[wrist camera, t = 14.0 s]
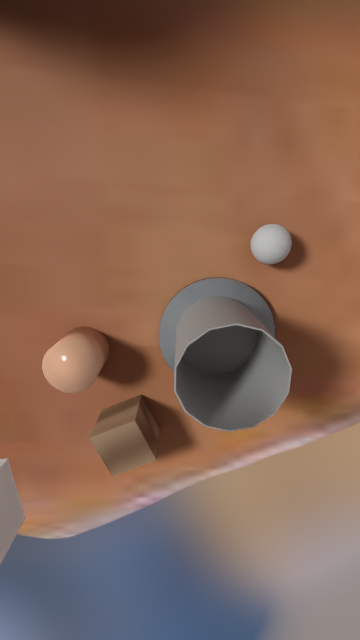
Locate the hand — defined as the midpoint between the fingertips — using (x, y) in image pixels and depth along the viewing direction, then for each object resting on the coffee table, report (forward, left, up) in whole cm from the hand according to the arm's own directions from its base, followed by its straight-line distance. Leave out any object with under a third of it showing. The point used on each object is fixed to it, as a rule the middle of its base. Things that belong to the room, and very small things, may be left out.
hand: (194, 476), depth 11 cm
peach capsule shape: (+3, -11, -21) cm, 24 cm away
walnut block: (+12, -7, -21) cm, 25 cm away
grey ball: (-7, +8, -21) cm, 24 cm away
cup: (+2, +3, -21) cm, 21 cm away
